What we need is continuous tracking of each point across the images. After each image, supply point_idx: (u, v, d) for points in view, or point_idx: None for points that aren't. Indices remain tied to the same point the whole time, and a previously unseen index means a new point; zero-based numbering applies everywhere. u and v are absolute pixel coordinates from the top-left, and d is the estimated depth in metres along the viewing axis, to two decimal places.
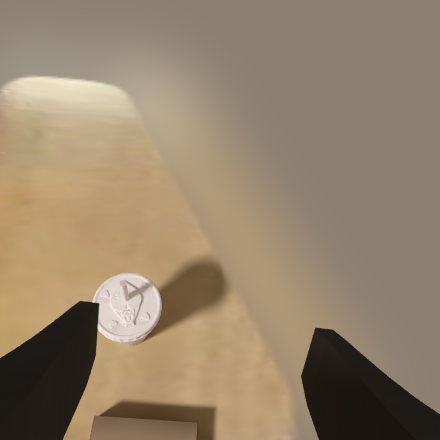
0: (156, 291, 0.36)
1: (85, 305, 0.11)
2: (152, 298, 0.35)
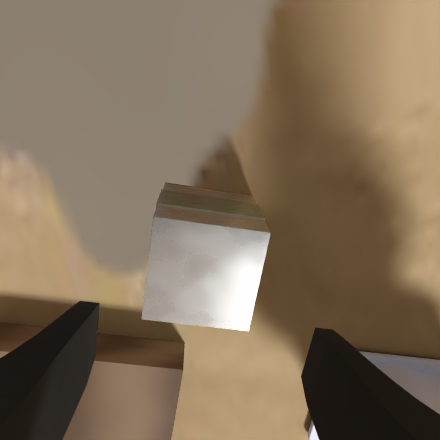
0: None
1: (85, 305, 0.11)
2: None
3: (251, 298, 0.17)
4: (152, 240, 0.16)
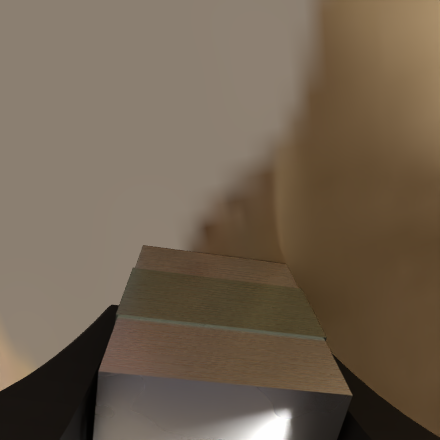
0: None
1: None
2: None
3: None
4: (99, 415, 0.07)
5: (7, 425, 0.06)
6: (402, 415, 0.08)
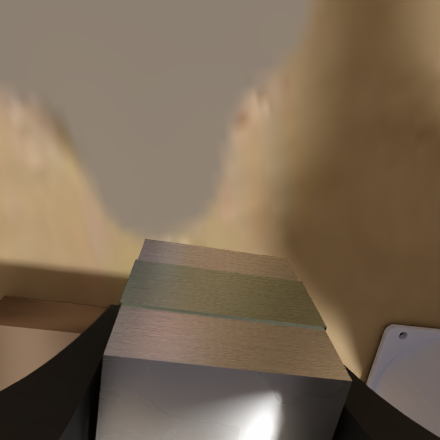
0: None
1: (118, 309, 0.11)
2: None
3: None
4: (103, 399, 0.07)
5: (6, 425, 0.06)
6: (402, 415, 0.08)
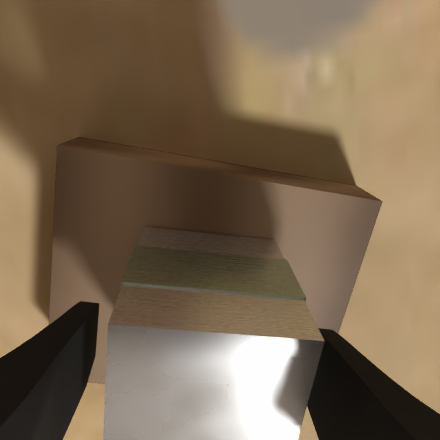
0: None
1: (85, 305, 0.11)
2: None
3: None
4: (109, 362, 0.09)
5: None
6: None
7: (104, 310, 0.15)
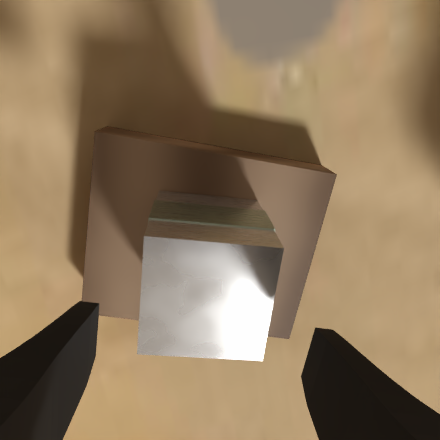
0: None
1: (85, 305, 0.11)
2: None
3: (264, 324, 0.15)
4: (144, 263, 0.13)
5: None
6: None
7: (126, 258, 0.20)
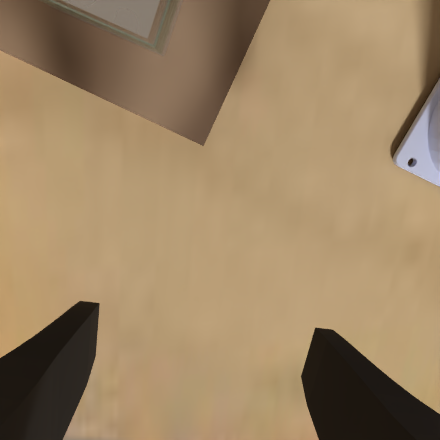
0: None
1: (85, 305, 0.11)
2: None
3: None
4: None
5: None
6: None
7: None
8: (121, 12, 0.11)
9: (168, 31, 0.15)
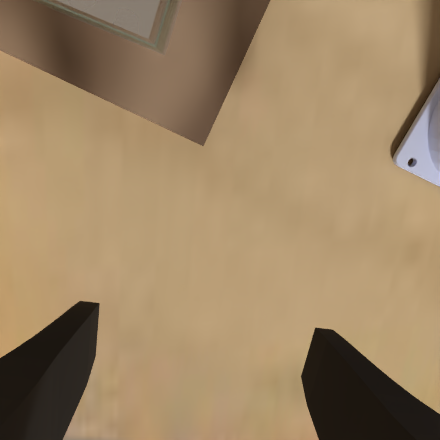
0: None
1: (85, 305, 0.11)
2: None
3: None
4: None
5: None
6: None
7: None
8: (121, 13, 0.11)
9: (168, 30, 0.15)
